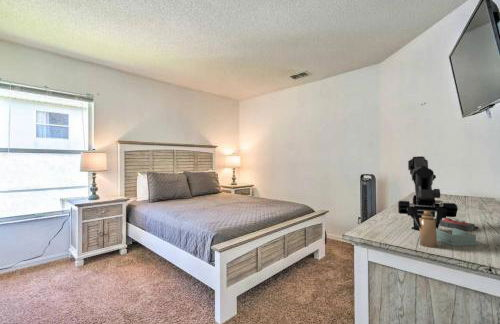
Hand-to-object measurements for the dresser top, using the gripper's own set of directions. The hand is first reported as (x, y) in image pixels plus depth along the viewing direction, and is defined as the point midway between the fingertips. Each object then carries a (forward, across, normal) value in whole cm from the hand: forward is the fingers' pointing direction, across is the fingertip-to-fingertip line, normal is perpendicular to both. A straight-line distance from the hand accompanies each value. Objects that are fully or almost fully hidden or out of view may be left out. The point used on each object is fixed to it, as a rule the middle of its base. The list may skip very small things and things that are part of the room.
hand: (428, 227), depth 91 cm
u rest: (-3, +9, +13) cm, 16 cm away
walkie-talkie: (-22, +12, +33) cm, 41 cm away
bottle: (+4, 0, +6) cm, 7 cm away
